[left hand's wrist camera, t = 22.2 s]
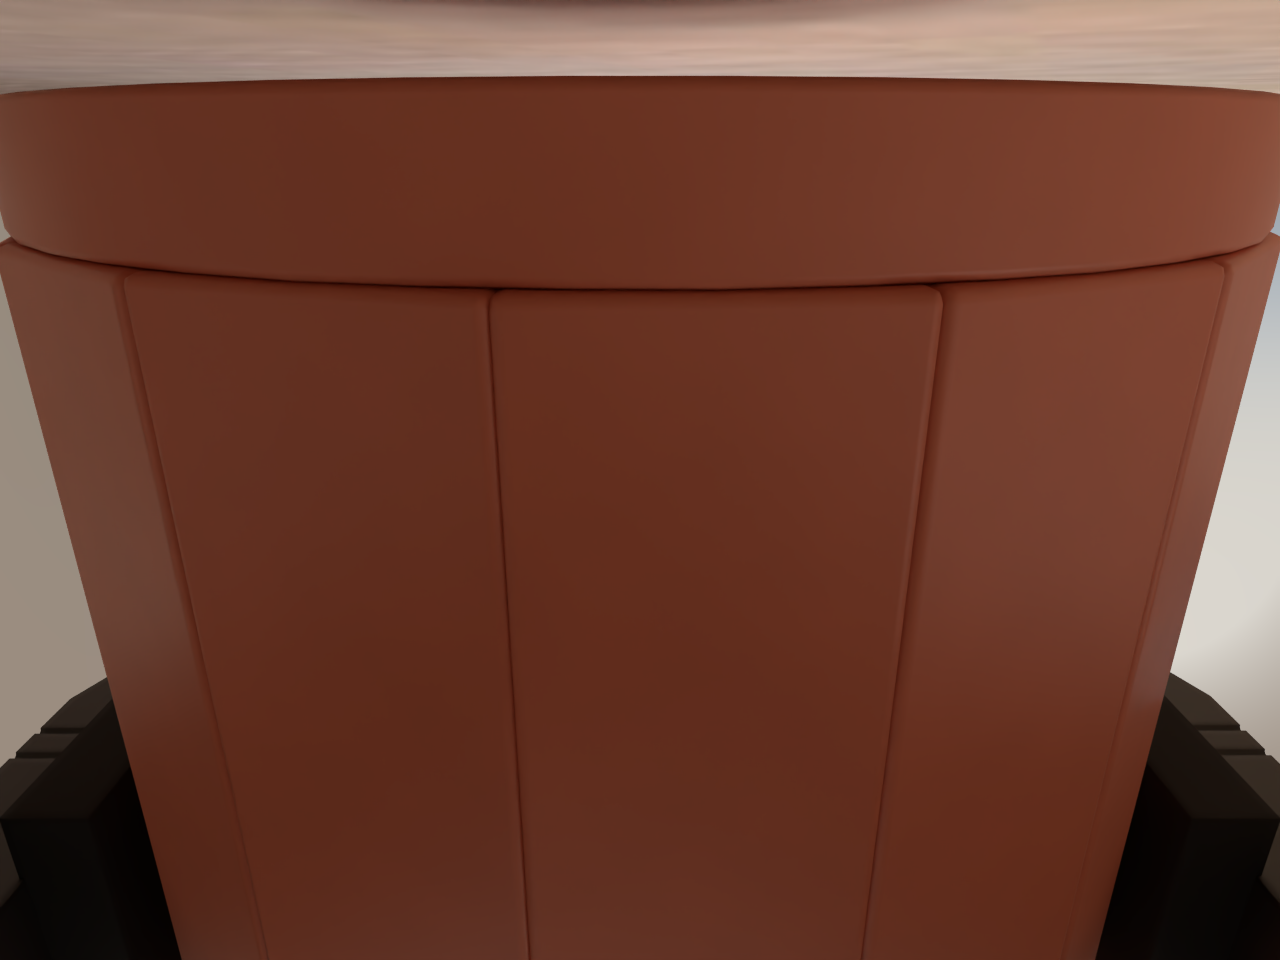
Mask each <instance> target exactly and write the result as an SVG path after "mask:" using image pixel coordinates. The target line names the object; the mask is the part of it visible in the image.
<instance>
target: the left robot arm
mask: <svg viewBox="0 0 1280 960" xmlns="http://www.w3.org/2000/svg"><path fill="white" fill-rule="evenodd" d="M0 960H182V959H181V955H180V951H179V947H178V943H177V940H176V936H175V932H174V928H173V925H172V921H171V917H170V913H169V909H168V906H167V902H166V898H165V894H164V890H163V887H162V883H161V879H160V875H159V872H158V868H157V864H156V860H155V856H154V853H153V849H152V845H151V841H150V838H149V834H148V830H147V826H146V822H145V819H144V815H143V811H142V807H141V804H140V800H139V796H138V792H137V788H136V785H135V781H134V777H133V773H132V770H131V766H130V762H129V758H128V754H127V751H126V747H125V743H124V739H123V736H122V732H121V728H120V724H119V720H118V717H117V713H116V709H115V705H114V701H113V698H112V694H111V690H110V686H109V683H108V679H107V677H106V678H105V679H103V680H101V681H100V682H98V683H96V684H95V685H93V686H91V687H90V688H88V689H86V690H85V691H83V692H81V693H80V694H78V695H76V696H74V697H73V698H71V699H70V700H69V701H68V702H67V703H66V704H65V705H64V706H63V707H62V708H61V709H60V710H59V711H58V712H57V713H56V714H55V715H53V717H51V718H50V719H49V720H48V721H47V722H46V723H45V724H44V725H43V726H42V727H41V732H40V734H34V735H33V736H32V737H31V738H30V739H29V740H28V741H27V742H26V743H25V744H24V745H23V746H22V747H21V748H20V749H19V750H18V751H17V752H16V757H15V759H9V760H8V761H7V762H6V763H5V764H4V765H3V766H2V767H1V768H0ZM1095 960H1280V764H1279V763H1278V762H1277V761H1276V760H1275V759H1274V758H1273V757H1272V756H1271V755H1266V754H1265V749H1264V748H1263V747H1262V746H1261V745H1260V744H1259V743H1258V742H1257V741H1256V740H1255V739H1254V738H1253V737H1252V736H1251V735H1250V734H1249V733H1248V732H1247V731H1241V730H1240V725H1239V724H1238V723H1237V722H1236V721H1235V720H1234V719H1233V718H1232V717H1231V716H1230V715H1229V714H1228V713H1227V712H1226V711H1225V710H1224V709H1223V708H1222V707H1221V706H1220V705H1219V704H1218V703H1217V702H1216V701H1215V700H1214V699H1213V698H1212V697H1211V696H1209V695H1208V694H1206V693H1204V692H1203V691H1201V690H1199V689H1197V688H1196V687H1194V686H1192V685H1191V684H1189V683H1187V682H1186V681H1184V680H1182V679H1181V678H1179V677H1177V676H1175V675H1174V674H1172V673H1170V674H1169V678H1168V682H1167V685H1166V689H1165V693H1164V697H1163V701H1162V705H1161V708H1160V712H1159V716H1158V720H1157V724H1156V728H1155V731H1154V735H1153V739H1152V743H1151V747H1150V751H1149V754H1148V758H1147V762H1146V766H1145V770H1144V773H1143V777H1142V781H1141V785H1140V789H1139V793H1138V796H1137V800H1136V804H1135V808H1134V812H1133V816H1132V819H1131V823H1130V827H1129V831H1128V835H1127V839H1126V842H1125V846H1124V850H1123V854H1122V858H1121V862H1120V865H1119V869H1118V873H1117V877H1116V881H1115V885H1114V888H1113V892H1112V896H1111V900H1110V904H1109V908H1108V911H1107V915H1106V919H1105V923H1104V927H1103V931H1102V934H1101V938H1100V942H1099V946H1098V950H1097V954H1096V957H1095Z"/></svg>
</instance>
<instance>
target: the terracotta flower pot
mask: <svg viewBox="0 0 1280 960" xmlns="http://www.w3.org/2000/svg"><path fill="white" fill-rule="evenodd" d="M1279 204H1280V94H1277V93H1270V92H1264V91H1252V90H1239V89H1227V88H1215V87H1196V86H1176V85H1155V84H1135V83H1105V82H1073V81H1041V80H1001V79H948V78H895V77H792V76H508V77H403V78H351V79H299V80H254V81H222V82H191V83H159V84H137V85H116V86H96V87H76V88H61V89H48V90H36V91H23V92H14V93H7V94H0V212H1V215H2V219H3V223H4V227H5V229H6V230H7V232H8V233H9V234H10V236H11V237H9V238H7V239H6V240H4V241H2V242H1V243H0V274H1V278H2V282H3V286H4V289H5V293H6V297H7V301H8V305H9V308H10V312H11V316H12V320H13V323H14V327H15V331H16V335H17V339H18V342H19V346H20V350H21V354H22V357H23V361H24V365H25V369H26V373H27V376H28V380H29V384H30V388H31V392H32V395H33V399H34V403H35V407H36V410H37V414H38V418H39V422H40V426H41V429H42V433H43V437H44V441H45V444H46V448H47V452H48V456H49V460H50V463H51V467H52V471H53V475H54V478H55V482H56V486H57V490H58V493H59V497H60V501H61V505H62V509H63V512H64V516H65V520H66V524H67V528H68V531H69V535H70V539H71V543H72V546H73V550H74V554H75V558H76V562H77V565H78V569H79V573H80V577H81V581H82V584H83V588H84V592H85V596H86V599H87V603H88V607H89V611H90V614H91V618H92V622H93V626H94V630H95V633H96V637H97V641H98V645H99V649H100V652H101V656H102V660H103V664H104V667H105V671H106V675H107V679H108V683H109V686H110V690H111V694H112V698H113V701H114V705H115V709H116V713H117V717H118V720H119V724H120V728H121V732H122V736H123V739H124V743H125V747H126V751H127V754H128V758H129V762H130V766H131V770H132V773H133V777H134V781H135V785H136V788H137V792H138V796H139V800H140V804H141V807H142V811H143V815H144V819H145V822H146V826H147V830H148V834H149V838H150V841H151V845H152V849H153V853H154V856H155V860H156V864H157V868H158V872H159V875H160V879H161V883H162V887H163V890H164V894H165V898H166V902H167V906H168V909H169V913H170V917H171V921H172V925H173V928H174V932H175V936H176V940H177V943H178V947H179V951H180V955H181V959H182V960H1095V957H1096V954H1097V950H1098V946H1099V942H1100V938H1101V934H1102V931H1103V927H1104V923H1105V919H1106V915H1107V911H1108V908H1109V904H1110V900H1111V896H1112V892H1113V888H1114V885H1115V881H1116V877H1117V873H1118V869H1119V865H1120V862H1121V858H1122V854H1123V850H1124V846H1125V842H1126V839H1127V835H1128V831H1129V827H1130V823H1131V819H1132V816H1133V812H1134V808H1135V804H1136V800H1137V796H1138V793H1139V789H1140V785H1141V781H1142V777H1143V773H1144V770H1145V766H1146V762H1147V758H1148V754H1149V751H1150V747H1151V743H1152V739H1153V735H1154V731H1155V728H1156V724H1157V720H1158V716H1159V712H1160V708H1161V705H1162V701H1163V697H1164V693H1165V689H1166V685H1167V682H1168V678H1169V674H1170V670H1171V666H1172V662H1173V659H1174V655H1175V651H1176V647H1177V643H1178V639H1179V635H1180V632H1181V628H1182V624H1183V620H1184V616H1185V613H1186V609H1187V605H1188V601H1189V597H1190V593H1191V590H1192V586H1193V582H1194V578H1195V574H1196V570H1197V566H1198V563H1199V559H1200V555H1201V551H1202V547H1203V543H1204V540H1205V536H1206V532H1207V528H1208V524H1209V521H1210V517H1211V513H1212V509H1213V505H1214V501H1215V498H1216V494H1217V490H1218V486H1219V482H1220V478H1221V475H1222V471H1223V467H1224V463H1225V459H1226V455H1227V452H1228V448H1229V444H1230V440H1231V436H1232V432H1233V429H1234V425H1235V421H1236V417H1237V413H1238V409H1239V406H1240V402H1241V398H1242V394H1243V390H1244V386H1245V383H1246V379H1247V375H1248V371H1249V367H1250V364H1251V360H1252V356H1253V352H1254V348H1255V344H1256V341H1257V337H1258V333H1259V329H1260V325H1261V321H1262V318H1263V314H1264V310H1265V306H1266V302H1267V298H1268V295H1269V291H1270V286H1271V283H1272V279H1273V275H1274V271H1275V268H1276V264H1277V260H1278V256H1279V252H1280V236H1278V235H1276V234H1274V233H1272V232H1270V231H1271V229H1272V228H1273V227H1274V223H1275V219H1276V215H1277V211H1278V207H1279Z"/></svg>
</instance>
